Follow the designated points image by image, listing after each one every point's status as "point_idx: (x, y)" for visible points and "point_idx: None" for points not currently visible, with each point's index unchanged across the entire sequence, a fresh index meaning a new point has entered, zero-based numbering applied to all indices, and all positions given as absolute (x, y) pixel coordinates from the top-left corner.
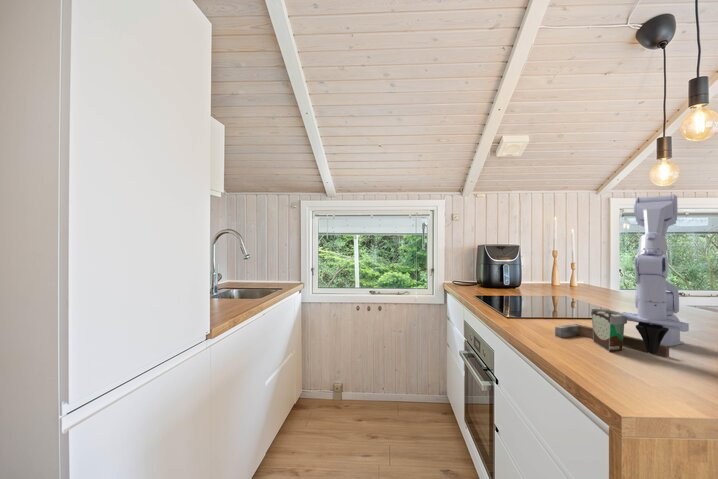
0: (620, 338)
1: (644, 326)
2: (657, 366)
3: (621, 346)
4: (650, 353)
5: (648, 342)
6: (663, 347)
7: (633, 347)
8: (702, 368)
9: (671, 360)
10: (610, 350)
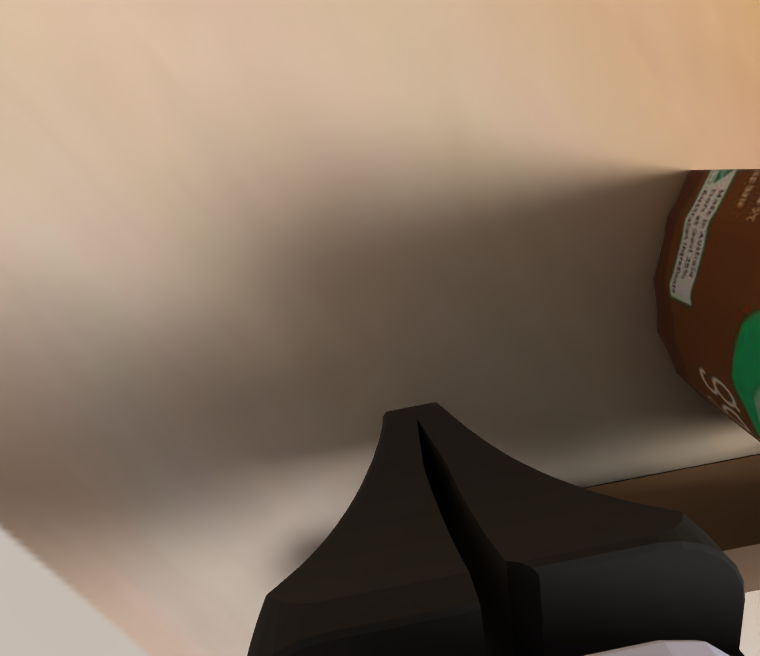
0: (755, 347)
1: (578, 650)
2: (200, 234)
3: (685, 342)
4: None
5: (441, 465)
6: None
7: (651, 488)
8: (105, 555)
9: (320, 510)
10: (695, 181)
